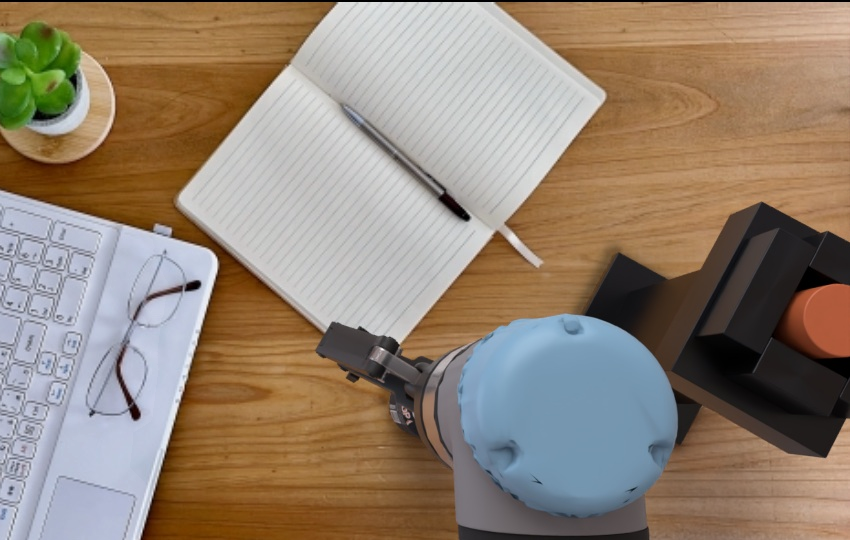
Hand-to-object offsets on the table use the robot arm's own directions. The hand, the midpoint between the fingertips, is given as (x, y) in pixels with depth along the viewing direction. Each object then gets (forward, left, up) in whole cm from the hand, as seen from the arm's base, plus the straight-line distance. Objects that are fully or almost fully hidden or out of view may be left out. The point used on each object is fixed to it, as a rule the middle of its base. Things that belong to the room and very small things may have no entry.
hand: (433, 410), depth 67 cm
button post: (+14, -14, -7) cm, 21 cm away
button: (+14, -14, +17) cm, 26 cm away
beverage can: (0, 0, -8) cm, 8 cm away
